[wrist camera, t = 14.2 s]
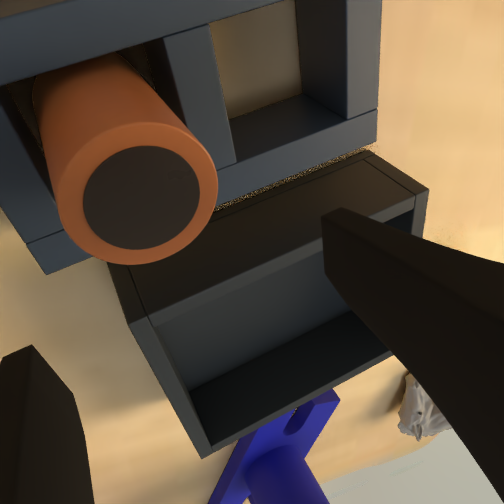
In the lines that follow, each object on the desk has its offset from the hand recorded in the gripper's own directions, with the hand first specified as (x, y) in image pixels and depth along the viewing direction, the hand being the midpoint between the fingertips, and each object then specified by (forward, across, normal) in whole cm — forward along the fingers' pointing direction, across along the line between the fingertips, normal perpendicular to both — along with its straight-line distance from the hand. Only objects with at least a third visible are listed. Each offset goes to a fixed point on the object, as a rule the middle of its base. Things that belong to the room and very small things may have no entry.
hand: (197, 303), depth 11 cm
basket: (+10, -5, +11) cm, 16 cm away
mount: (+10, -2, +31) cm, 33 cm away
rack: (+10, -3, -2) cm, 10 cm away
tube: (+10, 0, -2) cm, 10 cm away
